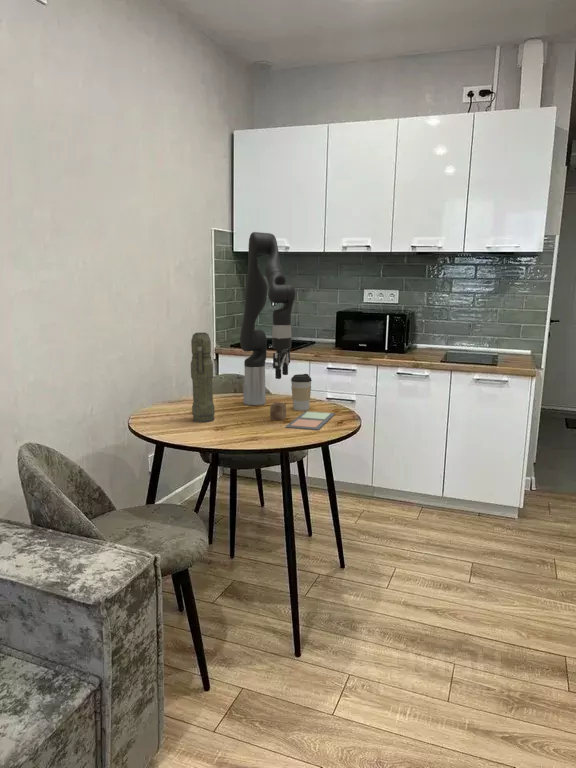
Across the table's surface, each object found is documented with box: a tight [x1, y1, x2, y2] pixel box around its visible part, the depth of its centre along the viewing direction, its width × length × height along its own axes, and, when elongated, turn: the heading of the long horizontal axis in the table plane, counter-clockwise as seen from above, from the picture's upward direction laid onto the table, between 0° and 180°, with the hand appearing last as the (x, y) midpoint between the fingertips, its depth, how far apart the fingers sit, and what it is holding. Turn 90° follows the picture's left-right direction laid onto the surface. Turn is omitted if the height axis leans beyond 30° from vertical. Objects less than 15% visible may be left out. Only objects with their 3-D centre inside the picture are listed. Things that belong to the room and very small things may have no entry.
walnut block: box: [269, 402, 287, 421], centre depth 233 cm, size 5×5×6 cm
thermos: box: [190, 332, 216, 423], centre depth 229 cm, size 9×12×35 cm
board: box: [285, 410, 336, 431], centre depth 229 cm, size 13×26×1 cm, turn 162°
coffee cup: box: [290, 373, 312, 412], centre depth 249 cm, size 9×9×15 cm
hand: (281, 376), depth 229 cm, fingers open, 8 cm apart
